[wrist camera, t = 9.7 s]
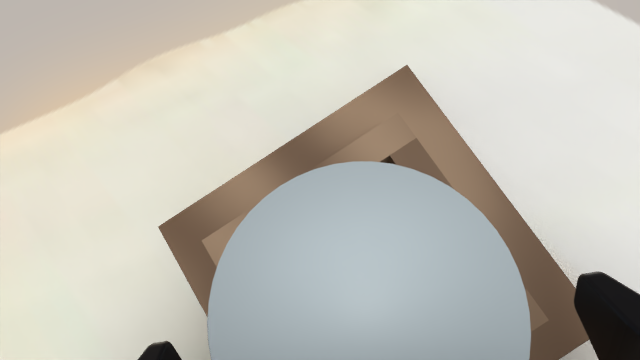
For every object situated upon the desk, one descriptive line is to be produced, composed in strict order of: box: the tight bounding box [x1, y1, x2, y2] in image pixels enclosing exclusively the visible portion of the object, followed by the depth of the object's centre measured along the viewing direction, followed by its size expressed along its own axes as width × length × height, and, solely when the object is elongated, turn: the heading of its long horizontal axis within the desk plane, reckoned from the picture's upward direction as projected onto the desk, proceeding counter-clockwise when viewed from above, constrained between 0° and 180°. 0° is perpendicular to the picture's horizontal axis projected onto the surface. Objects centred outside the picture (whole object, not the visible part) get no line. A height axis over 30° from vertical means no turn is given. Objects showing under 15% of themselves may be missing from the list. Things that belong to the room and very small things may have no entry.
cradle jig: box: [159, 65, 589, 360], centre depth 18 cm, size 14×14×5 cm
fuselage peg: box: [207, 161, 531, 360], centre depth 12 cm, size 4×4×13 cm
